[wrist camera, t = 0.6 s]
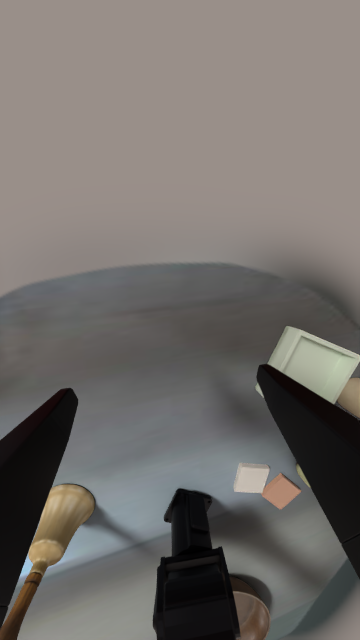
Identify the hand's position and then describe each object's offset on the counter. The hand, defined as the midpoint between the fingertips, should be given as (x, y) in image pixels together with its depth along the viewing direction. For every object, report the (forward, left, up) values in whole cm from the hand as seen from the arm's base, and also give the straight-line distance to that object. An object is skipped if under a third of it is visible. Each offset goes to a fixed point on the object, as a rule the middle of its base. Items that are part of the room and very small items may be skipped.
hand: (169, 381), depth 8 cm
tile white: (-20, -23, -16) cm, 35 cm away
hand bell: (-34, +4, -16) cm, 38 cm away
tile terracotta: (-21, -30, -16) cm, 40 cm away
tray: (+1, -22, -16) cm, 27 cm away
